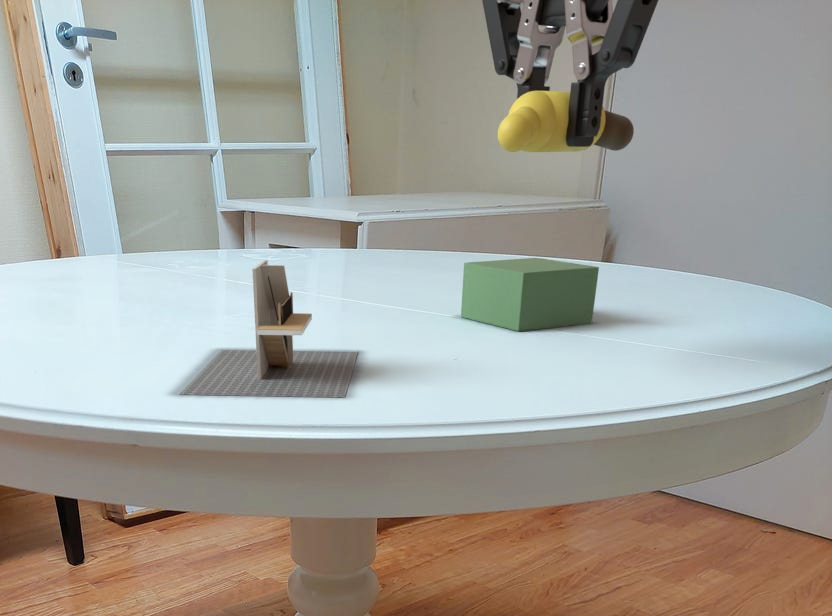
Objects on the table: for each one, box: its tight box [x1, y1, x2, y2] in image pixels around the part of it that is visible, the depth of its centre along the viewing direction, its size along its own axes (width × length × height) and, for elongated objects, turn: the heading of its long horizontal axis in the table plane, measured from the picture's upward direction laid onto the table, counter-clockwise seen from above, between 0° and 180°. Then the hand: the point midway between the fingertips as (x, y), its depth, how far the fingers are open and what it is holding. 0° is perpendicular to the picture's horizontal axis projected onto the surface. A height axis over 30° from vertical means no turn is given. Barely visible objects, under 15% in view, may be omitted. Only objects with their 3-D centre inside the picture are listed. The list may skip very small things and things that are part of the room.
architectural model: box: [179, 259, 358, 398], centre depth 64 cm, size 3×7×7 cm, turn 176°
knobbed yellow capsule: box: [497, 90, 635, 153], centre depth 61 cm, size 14×4×4 cm, turn 130°
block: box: [460, 257, 600, 332], centre depth 85 cm, size 9×9×5 cm
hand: (554, 145), depth 62 cm, fingers closed on knobbed yellow capsule, 3 cm apart
